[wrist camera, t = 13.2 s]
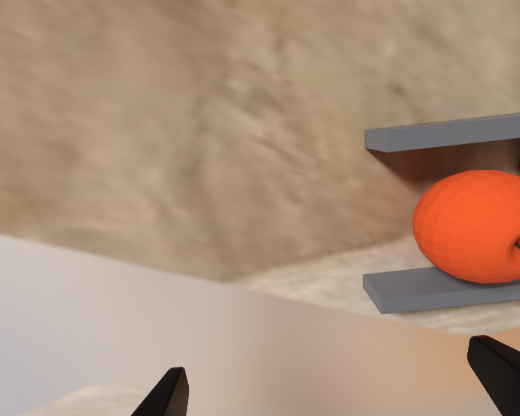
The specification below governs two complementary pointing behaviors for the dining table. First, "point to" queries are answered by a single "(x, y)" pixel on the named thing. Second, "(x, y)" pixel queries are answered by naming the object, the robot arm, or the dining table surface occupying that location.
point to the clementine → (472, 226)
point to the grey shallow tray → (434, 279)
